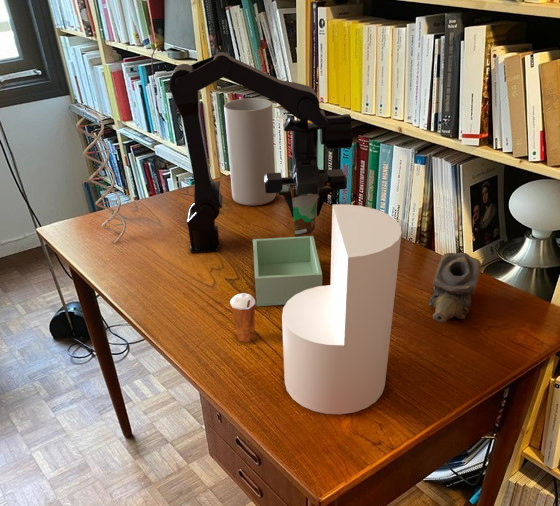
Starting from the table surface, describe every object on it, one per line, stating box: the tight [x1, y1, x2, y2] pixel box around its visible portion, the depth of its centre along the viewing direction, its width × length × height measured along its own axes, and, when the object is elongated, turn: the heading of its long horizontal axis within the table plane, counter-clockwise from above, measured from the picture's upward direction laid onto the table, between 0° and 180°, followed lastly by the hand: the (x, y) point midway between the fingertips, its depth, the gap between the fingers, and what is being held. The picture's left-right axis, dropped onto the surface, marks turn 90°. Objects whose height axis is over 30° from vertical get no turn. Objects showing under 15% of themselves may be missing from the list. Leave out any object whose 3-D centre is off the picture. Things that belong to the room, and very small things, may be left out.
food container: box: [292, 186, 319, 237], centre depth 134 cm, size 12×6×10 cm, turn 179°
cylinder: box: [281, 204, 403, 415], centre depth 88 cm, size 17×17×28 cm
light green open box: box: [252, 235, 323, 307], centre depth 121 cm, size 14×18×7 cm
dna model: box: [74, 109, 127, 244], centre depth 135 cm, size 7×6×30 cm
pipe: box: [428, 252, 482, 324], centre depth 107 cm, size 9×22×10 cm, turn 166°
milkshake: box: [229, 292, 256, 343], centre depth 104 cm, size 4×5×10 cm
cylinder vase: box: [223, 97, 277, 207], centre depth 153 cm, size 12×12×25 cm
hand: (305, 216), depth 135 cm, fingers closed on food container, 5 cm apart
